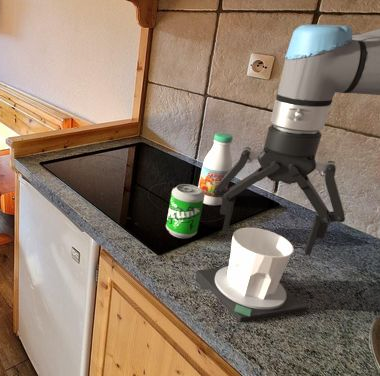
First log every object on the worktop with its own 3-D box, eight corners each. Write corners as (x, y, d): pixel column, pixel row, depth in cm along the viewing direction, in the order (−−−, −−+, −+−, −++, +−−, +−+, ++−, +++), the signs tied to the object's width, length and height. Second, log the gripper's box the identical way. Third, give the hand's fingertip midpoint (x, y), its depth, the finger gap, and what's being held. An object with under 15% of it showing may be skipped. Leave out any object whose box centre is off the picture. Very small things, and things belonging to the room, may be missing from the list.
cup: (243, 264, 85) (254, 223, 81) (289, 291, 77) (305, 247, 73) (211, 278, 80) (221, 235, 76) (257, 309, 72) (271, 263, 68)
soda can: (171, 221, 107) (178, 180, 101) (200, 230, 103) (209, 188, 98) (160, 233, 101) (168, 190, 96) (191, 243, 97) (200, 199, 92)
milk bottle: (191, 194, 122) (204, 130, 113) (215, 194, 123) (230, 130, 114) (203, 206, 115) (217, 139, 106) (228, 205, 116) (245, 139, 107)
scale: (304, 317, 75) (309, 304, 74) (237, 328, 72) (241, 315, 71) (253, 271, 87) (256, 260, 86) (194, 279, 84) (196, 267, 83)
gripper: (209, 121, 68) (190, 230, 77) (396, 148, 56) (347, 273, 65) (218, 112, 74) (199, 214, 83) (389, 134, 62) (345, 251, 71)
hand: (264, 240), depth 74 cm, fingers open, 13 cm apart
